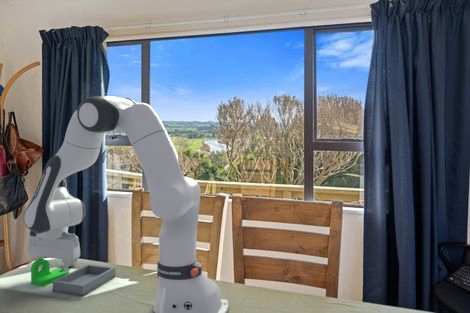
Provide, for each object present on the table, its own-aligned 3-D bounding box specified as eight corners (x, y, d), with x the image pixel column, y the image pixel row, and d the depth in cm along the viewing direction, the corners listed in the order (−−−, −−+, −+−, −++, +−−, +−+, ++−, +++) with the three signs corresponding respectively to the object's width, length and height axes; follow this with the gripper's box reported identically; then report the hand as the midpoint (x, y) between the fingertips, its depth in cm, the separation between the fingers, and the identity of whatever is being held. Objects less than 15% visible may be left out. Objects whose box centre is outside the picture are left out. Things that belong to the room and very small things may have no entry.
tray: (115, 276, 126) (115, 267, 126) (83, 296, 110) (82, 285, 110) (88, 273, 130) (87, 264, 130) (52, 291, 114) (52, 281, 113)
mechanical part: (41, 287, 117) (41, 264, 117) (31, 283, 120) (30, 261, 120) (72, 275, 128) (72, 254, 128) (62, 272, 131) (62, 251, 130)
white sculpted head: (82, 263, 140) (82, 246, 140) (72, 269, 134) (71, 251, 133) (69, 262, 141) (69, 245, 141) (57, 268, 135) (57, 250, 134)
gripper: (84, 232, 123) (84, 269, 124) (38, 226, 129) (38, 263, 129) (71, 236, 117) (71, 276, 118) (24, 230, 123) (24, 268, 123)
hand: (53, 269), depth 124 cm, fingers open, 8 cm apart
